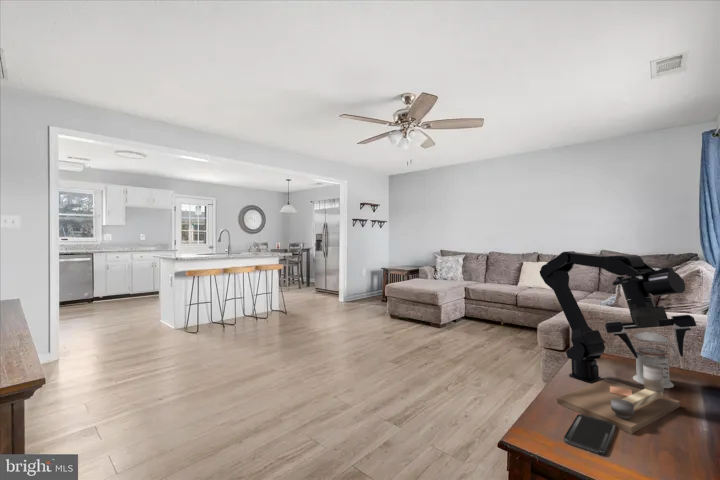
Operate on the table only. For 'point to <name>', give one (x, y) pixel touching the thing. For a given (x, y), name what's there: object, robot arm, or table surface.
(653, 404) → the board
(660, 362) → the french press
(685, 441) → the table surface
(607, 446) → the phone
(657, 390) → the grey-ended beige bar
